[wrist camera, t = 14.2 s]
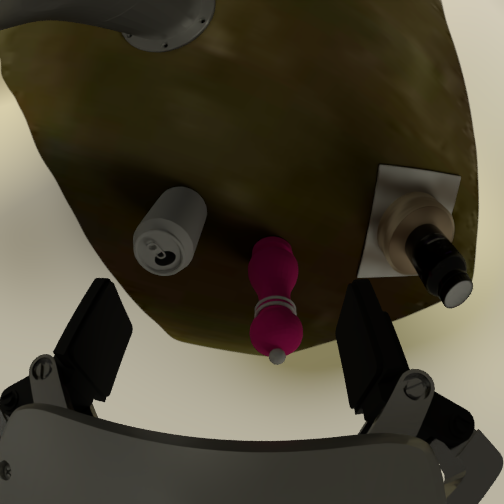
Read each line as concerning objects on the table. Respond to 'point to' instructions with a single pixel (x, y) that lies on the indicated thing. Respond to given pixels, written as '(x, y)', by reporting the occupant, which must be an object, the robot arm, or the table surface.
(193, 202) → the can
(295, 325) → the pepper mill
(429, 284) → the supplement bottle
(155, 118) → the table surface
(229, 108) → the table surface
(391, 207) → the pedestal
